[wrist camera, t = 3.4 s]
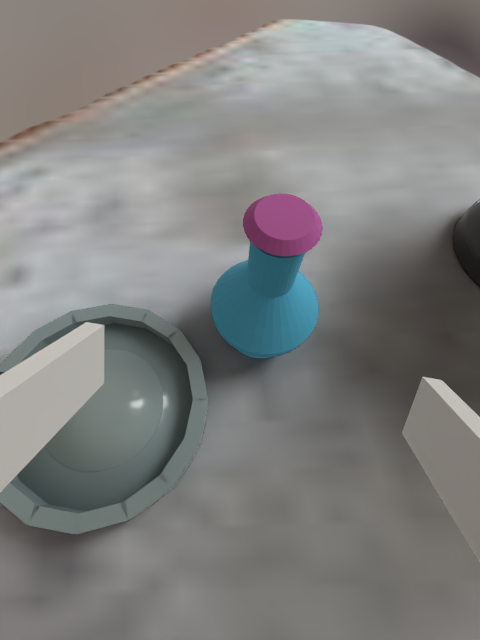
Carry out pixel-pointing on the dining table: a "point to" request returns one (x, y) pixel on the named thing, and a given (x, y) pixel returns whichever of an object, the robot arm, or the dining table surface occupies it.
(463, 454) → the robot arm
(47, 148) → the dining table surface
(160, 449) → the round dish
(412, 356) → the dining table surface
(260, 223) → the perfume bottle
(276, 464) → the dining table surface
